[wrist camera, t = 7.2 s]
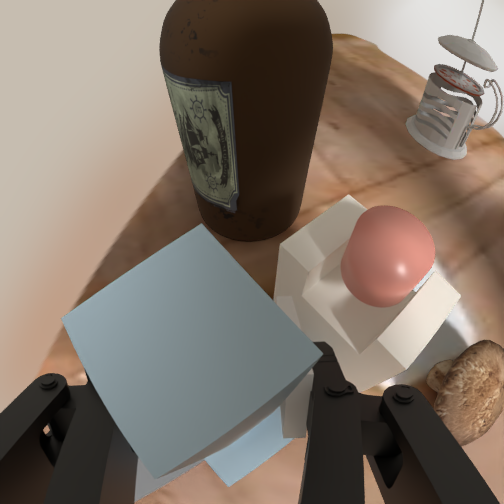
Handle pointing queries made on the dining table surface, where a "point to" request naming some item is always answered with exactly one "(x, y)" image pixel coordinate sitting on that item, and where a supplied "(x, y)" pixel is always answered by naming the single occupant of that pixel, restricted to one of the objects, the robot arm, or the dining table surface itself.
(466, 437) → the mushroom
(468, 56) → the french press
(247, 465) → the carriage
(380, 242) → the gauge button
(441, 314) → the slide rail
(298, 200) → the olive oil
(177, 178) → the dining table surface
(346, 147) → the dining table surface
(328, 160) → the dining table surface
